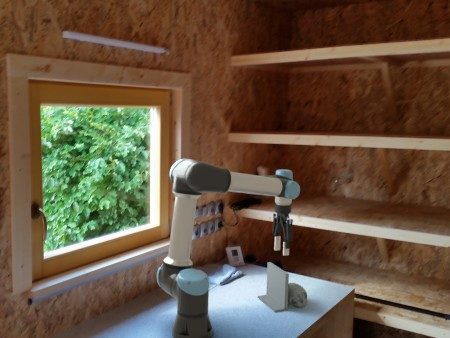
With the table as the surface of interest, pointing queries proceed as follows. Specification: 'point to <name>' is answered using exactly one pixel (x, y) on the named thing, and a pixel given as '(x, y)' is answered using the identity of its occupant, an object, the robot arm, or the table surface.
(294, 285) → the grey streaked ovoid
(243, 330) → the table surface
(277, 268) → the grey screen
